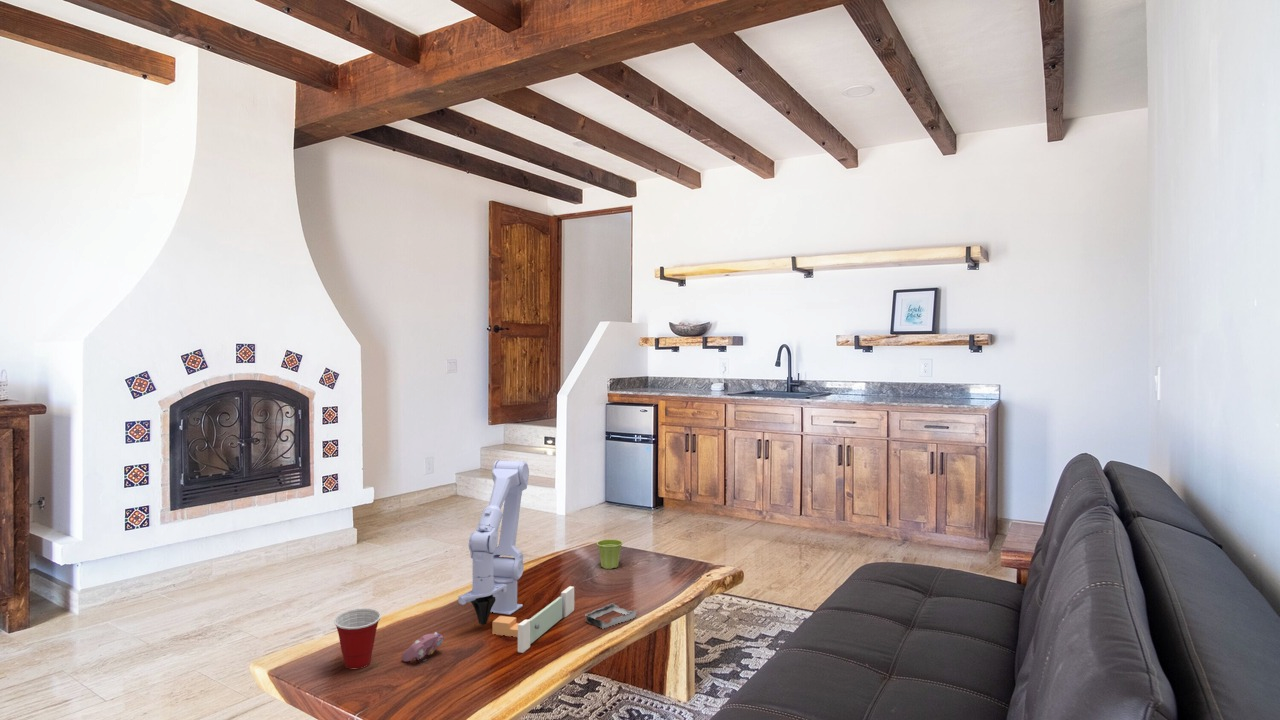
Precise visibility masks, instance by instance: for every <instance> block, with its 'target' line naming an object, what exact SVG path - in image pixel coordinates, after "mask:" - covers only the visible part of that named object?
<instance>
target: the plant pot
mask: <svg viewBox="0 0 1280 720" xmlns="http://www.w3.org/2000/svg"><path fill="white" fill-rule="evenodd" d="M596 545H597V549H598V553H599V558H600V567H601V568H603V569H605V570H607V569H608V570H611V569H614V568H615V569H616V568H618V567H619V563H620V555H621V548H622V545H623V541H622V540H618V539H602V540H598V541H596Z"/></svg>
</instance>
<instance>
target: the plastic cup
mask: <svg viewBox="0 0 1280 720" xmlns="http://www.w3.org/2000/svg"><path fill="white" fill-rule="evenodd" d="M381 617H382V613H381V612H380V610H377V609H376V608H375V609H374V608H367V607H363V608H354V609H349V610H345V611H343V612H341V613H339V614H338V615H336V616H335V617H334V619H333V623H334V625H335V627H336V629H337V633H338V639H339V643H340V649H341V650H340V651H341V654H342V659H343V664H344V667H345V666H346V667H347V668H361V667H364V666H366V665H368V664H369V663H370V664H371V661H372V656H373V650H374V646H375V645H374V644H375V640H376V635H377V634H376V633H377V630H378V629H377V628H378V625H379V621H380V620H381ZM370 664H369V665H370ZM369 665H368V666H369ZM346 667H345V668H346ZM366 667H367V666H366ZM347 668H346V669H347ZM364 668H365V667H364ZM361 669H362V668H361Z"/></svg>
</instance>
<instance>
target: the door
mask: <svg viewBox="0 0 1280 720" xmlns="http://www.w3.org/2000/svg"><path fill="white" fill-rule="evenodd" d="M564 618H565V617H564V596H561V595H559V596H558V597H557V598H555V599H554V600H553V601H552V602H551V603H549V604H547V605H546V606H545V607H544V608H542V609H541V610H540V611H538V612H537V613H535V614H534V615H533V616H531V618H529V619H528V620H530V645H531V644H533V643H534V642H535V641H536V640H537V639H539V638H540V637H541V636H543V635H544V634H545V633H546V632H547V631H548V630H550V629H551V628H552V627H553V626H554V625H556V624H557V623H558V622H559V621H560V620H562V619H564Z"/></svg>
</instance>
